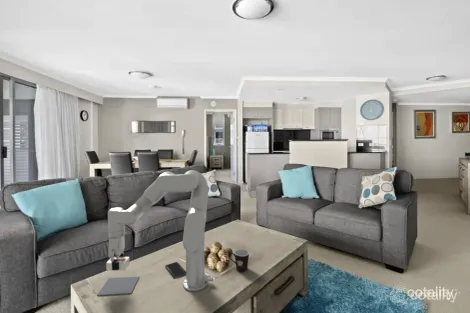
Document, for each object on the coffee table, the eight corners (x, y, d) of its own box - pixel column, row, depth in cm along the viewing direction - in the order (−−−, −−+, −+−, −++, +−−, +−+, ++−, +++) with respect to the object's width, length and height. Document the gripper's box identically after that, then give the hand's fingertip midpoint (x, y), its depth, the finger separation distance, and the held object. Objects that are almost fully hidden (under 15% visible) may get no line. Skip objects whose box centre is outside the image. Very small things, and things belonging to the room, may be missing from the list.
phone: (174, 277, 134) (164, 265, 146) (174, 279, 134) (164, 267, 147) (187, 273, 139) (177, 261, 151) (187, 274, 139) (177, 263, 151)
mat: (139, 277, 136) (139, 276, 136) (131, 293, 122) (131, 292, 122) (108, 278, 134) (108, 278, 134) (97, 295, 120) (97, 294, 120)
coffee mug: (252, 268, 145) (252, 252, 144) (242, 275, 138) (242, 257, 137) (237, 261, 153) (237, 246, 152) (227, 267, 146) (227, 251, 145)
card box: (112, 264, 130) (111, 256, 130) (129, 264, 130) (129, 256, 130) (106, 270, 124) (106, 262, 124) (124, 270, 124) (124, 262, 124)
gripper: (115, 226, 133) (116, 257, 135) (101, 240, 116) (103, 276, 118) (130, 225, 134) (131, 257, 136) (118, 239, 117) (119, 275, 119)
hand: (118, 265), depth 127 cm, fingers closed on card box, 6 cm apart
